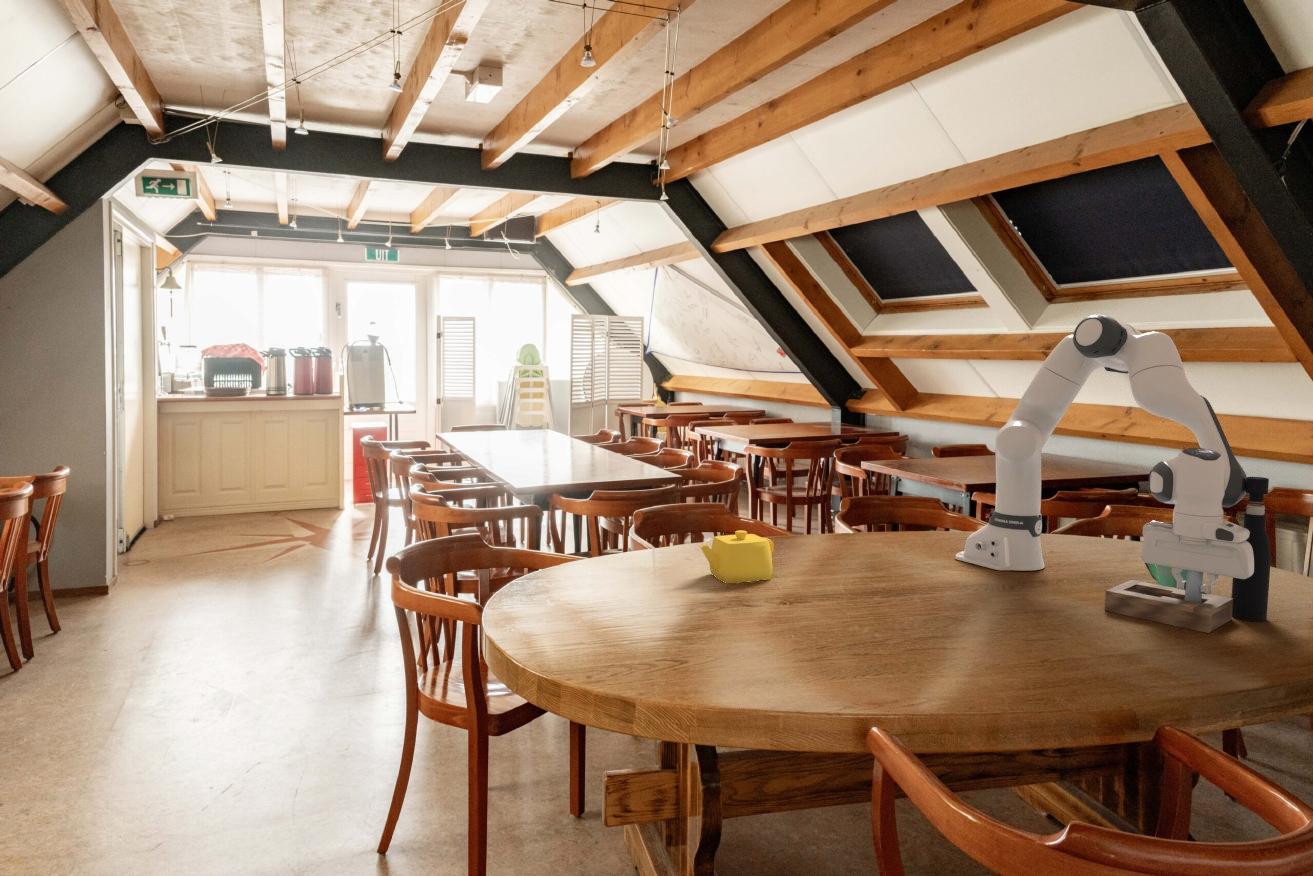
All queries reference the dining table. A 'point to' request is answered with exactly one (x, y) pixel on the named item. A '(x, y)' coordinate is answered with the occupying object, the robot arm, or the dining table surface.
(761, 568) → the teapot
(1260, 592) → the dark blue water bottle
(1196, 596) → the peg
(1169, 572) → the mug
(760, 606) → the dining table surface
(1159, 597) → the keyhole board
